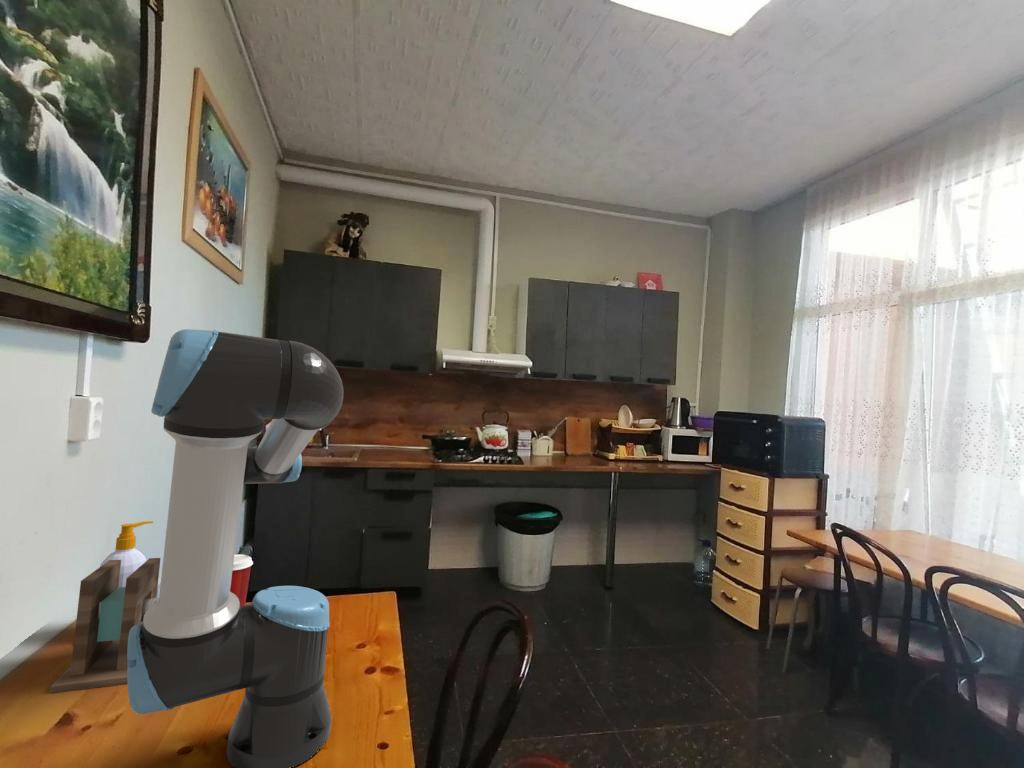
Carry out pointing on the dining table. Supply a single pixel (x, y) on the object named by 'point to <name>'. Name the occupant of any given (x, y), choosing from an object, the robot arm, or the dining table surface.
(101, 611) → the spacer
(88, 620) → the block
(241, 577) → the coffee cup
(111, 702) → the dining table surface
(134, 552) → the soap bottle
